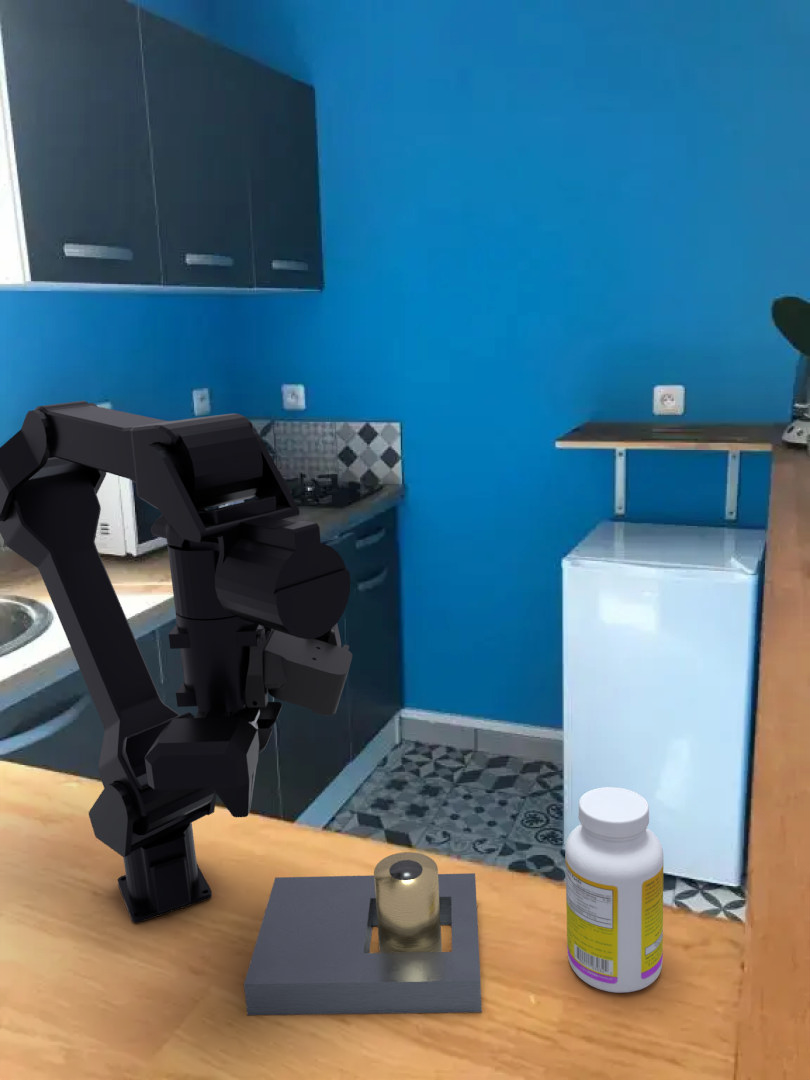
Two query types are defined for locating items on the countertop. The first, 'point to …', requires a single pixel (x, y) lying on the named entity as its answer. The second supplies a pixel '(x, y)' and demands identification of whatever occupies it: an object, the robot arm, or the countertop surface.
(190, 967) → the countertop surface
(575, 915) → the supplement bottle
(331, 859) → the countertop surface
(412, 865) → the bushing
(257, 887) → the countertop surface
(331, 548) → the robot arm
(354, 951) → the jig
